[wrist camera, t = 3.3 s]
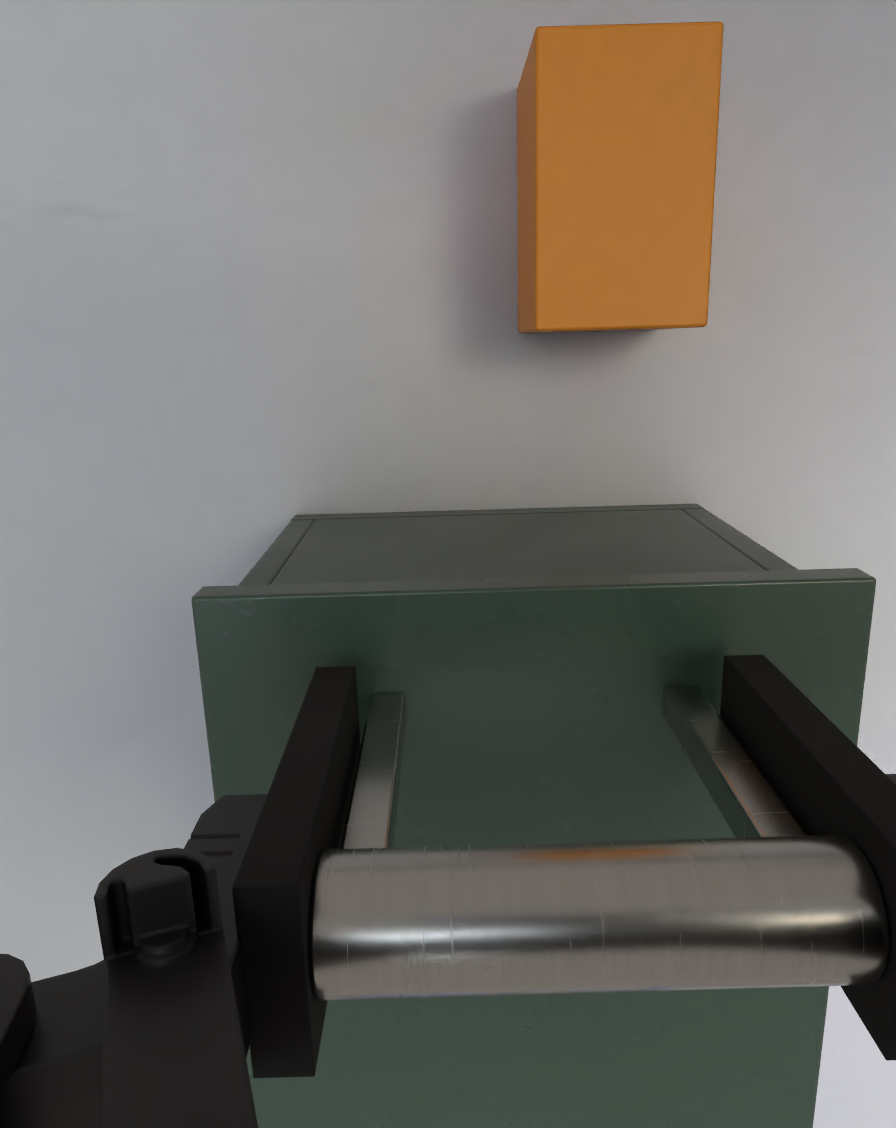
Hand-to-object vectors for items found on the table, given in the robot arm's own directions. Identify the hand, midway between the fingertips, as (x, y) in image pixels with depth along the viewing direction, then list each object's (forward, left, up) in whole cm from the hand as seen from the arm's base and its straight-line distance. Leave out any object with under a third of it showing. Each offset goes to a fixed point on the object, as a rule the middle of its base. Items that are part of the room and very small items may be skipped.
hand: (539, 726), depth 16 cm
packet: (-11, +3, -13) cm, 17 cm away
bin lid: (+5, 0, -2) cm, 5 cm away
